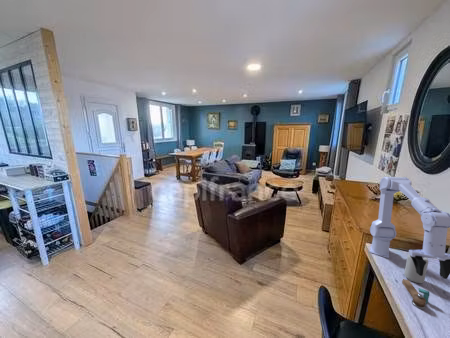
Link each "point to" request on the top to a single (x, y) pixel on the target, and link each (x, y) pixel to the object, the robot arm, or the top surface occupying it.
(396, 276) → the top surface
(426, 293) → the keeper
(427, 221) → the robot arm
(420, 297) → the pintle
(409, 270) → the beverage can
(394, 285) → the top surface
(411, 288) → the latch bar
